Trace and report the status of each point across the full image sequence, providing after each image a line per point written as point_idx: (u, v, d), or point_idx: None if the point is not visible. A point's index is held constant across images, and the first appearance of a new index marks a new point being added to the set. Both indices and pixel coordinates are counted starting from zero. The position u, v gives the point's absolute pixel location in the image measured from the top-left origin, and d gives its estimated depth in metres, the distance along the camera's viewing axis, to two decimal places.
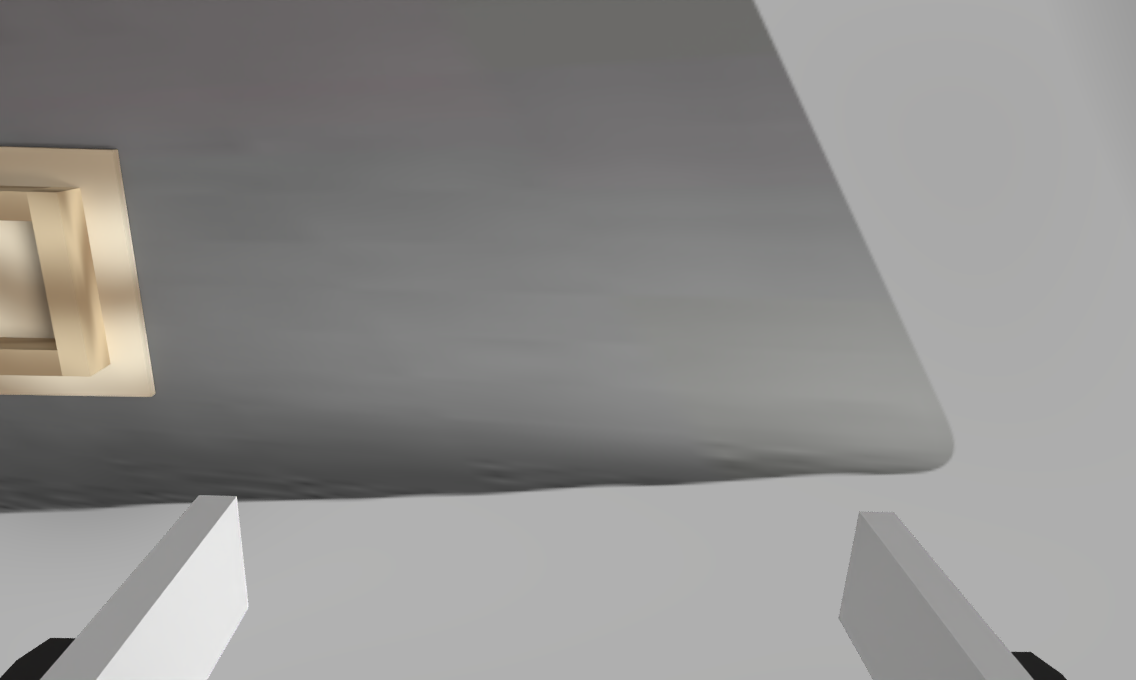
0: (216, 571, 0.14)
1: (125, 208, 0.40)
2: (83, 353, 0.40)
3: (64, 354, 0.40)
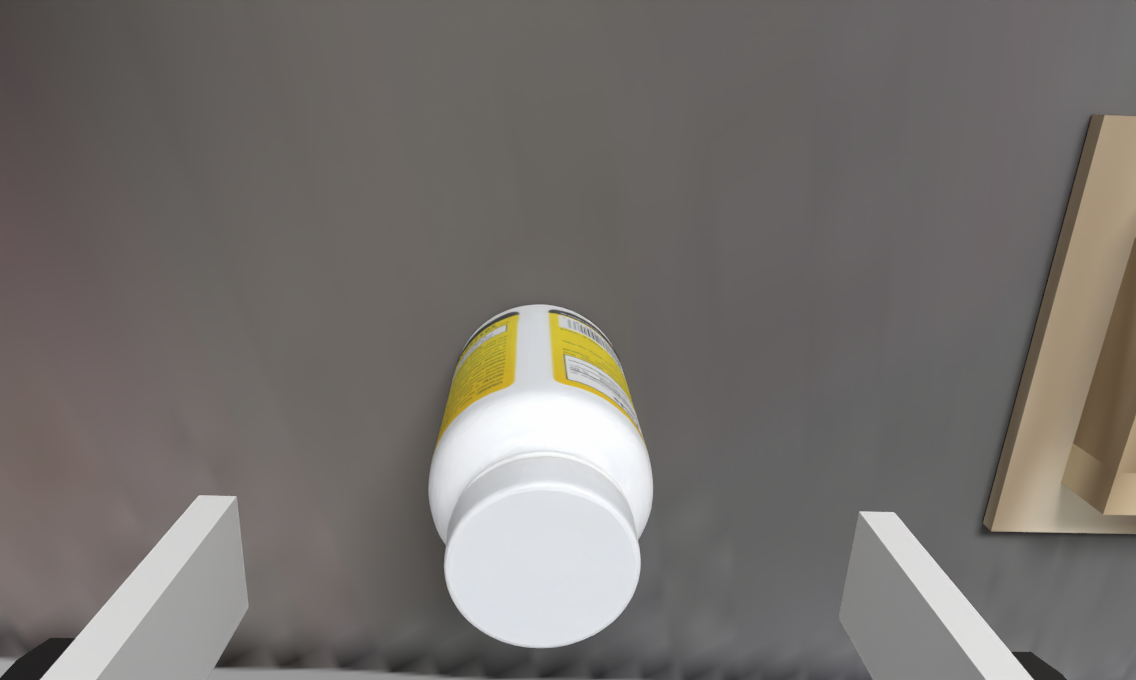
0: (216, 571, 0.14)
1: None
2: None
3: None
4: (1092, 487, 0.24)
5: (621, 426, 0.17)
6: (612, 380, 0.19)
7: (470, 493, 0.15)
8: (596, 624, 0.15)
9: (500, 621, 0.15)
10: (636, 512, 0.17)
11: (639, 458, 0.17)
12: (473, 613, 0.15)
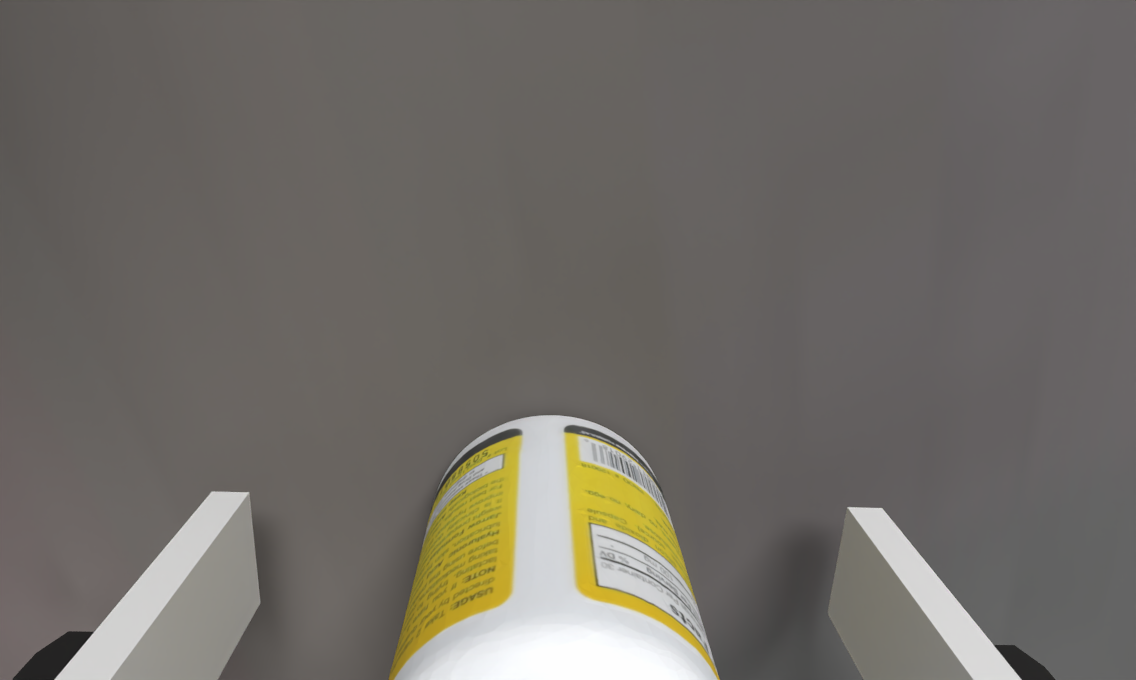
0: (229, 566, 0.14)
1: None
2: None
3: None
4: None
5: (687, 676, 0.10)
6: (663, 561, 0.12)
7: None
8: None
9: None
10: None
11: None
12: None
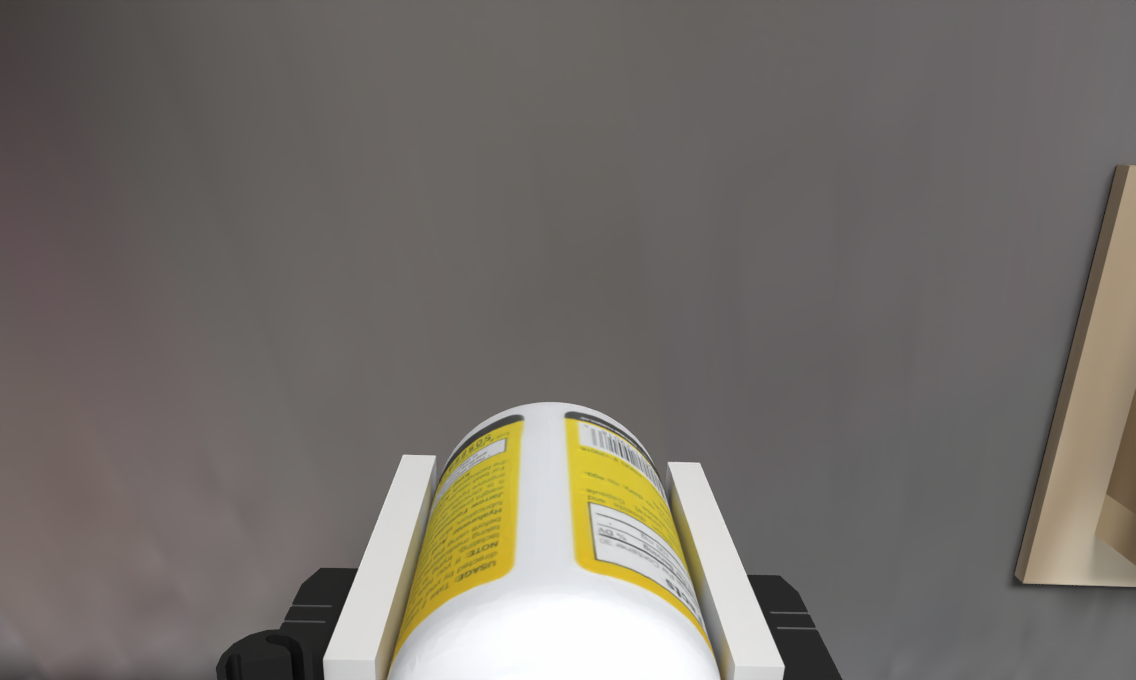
0: (428, 519, 0.16)
1: None
2: None
3: None
4: (1127, 540, 0.23)
5: (682, 645, 0.11)
6: (659, 539, 0.13)
7: None
8: None
9: None
10: None
11: None
12: None
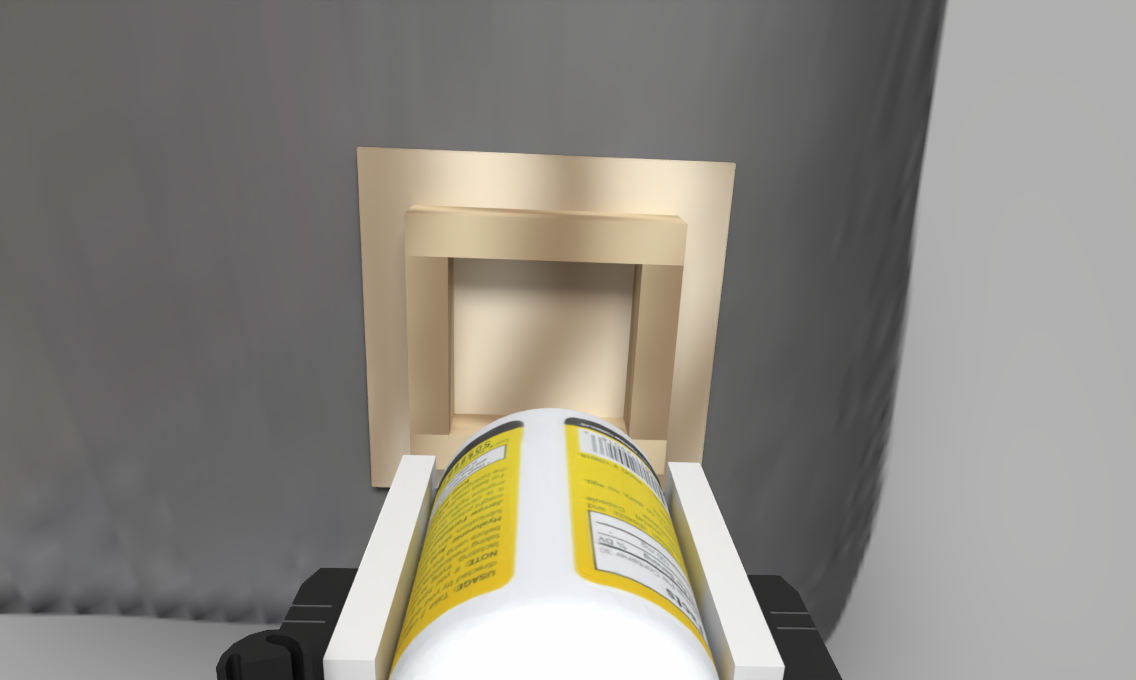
0: (428, 519, 0.16)
1: (443, 150, 0.28)
2: (650, 226, 0.26)
3: (650, 254, 0.27)
4: None
5: (682, 656, 0.11)
6: (660, 548, 0.13)
7: None
8: None
9: None
10: None
11: None
12: None
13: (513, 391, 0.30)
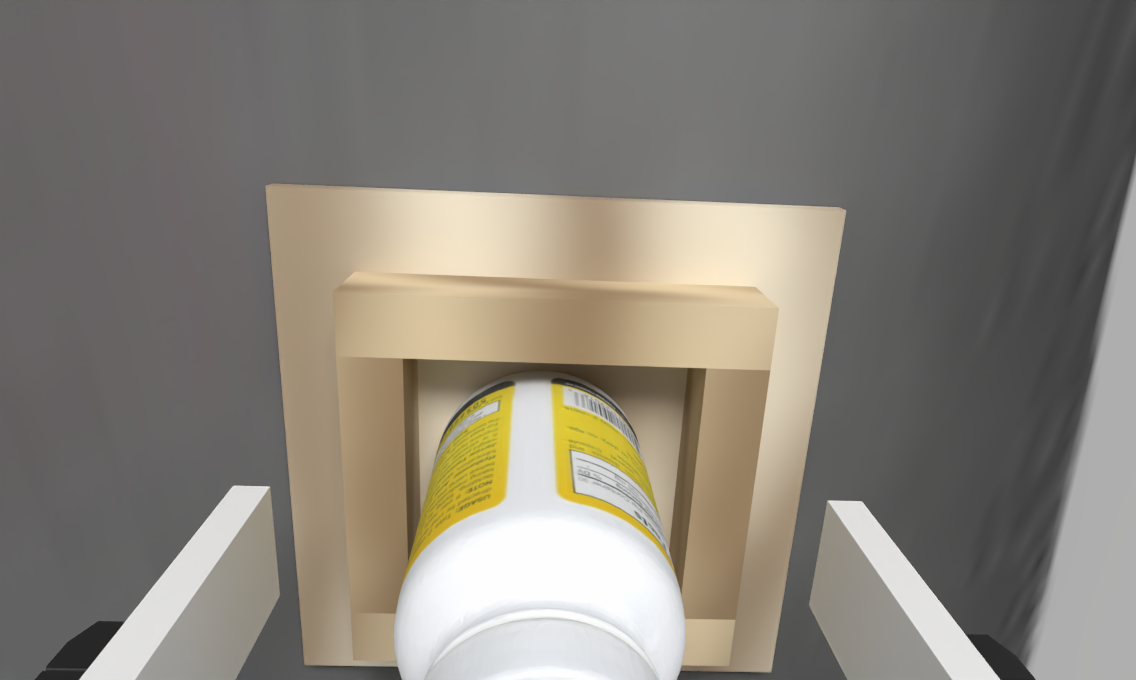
0: (252, 559, 0.15)
1: (400, 190, 0.18)
2: (719, 312, 0.17)
3: (719, 354, 0.17)
4: None
5: (646, 559, 0.13)
6: (631, 481, 0.15)
7: (442, 672, 0.11)
8: None
9: None
10: (665, 670, 0.13)
11: (670, 601, 0.13)
12: None
13: None
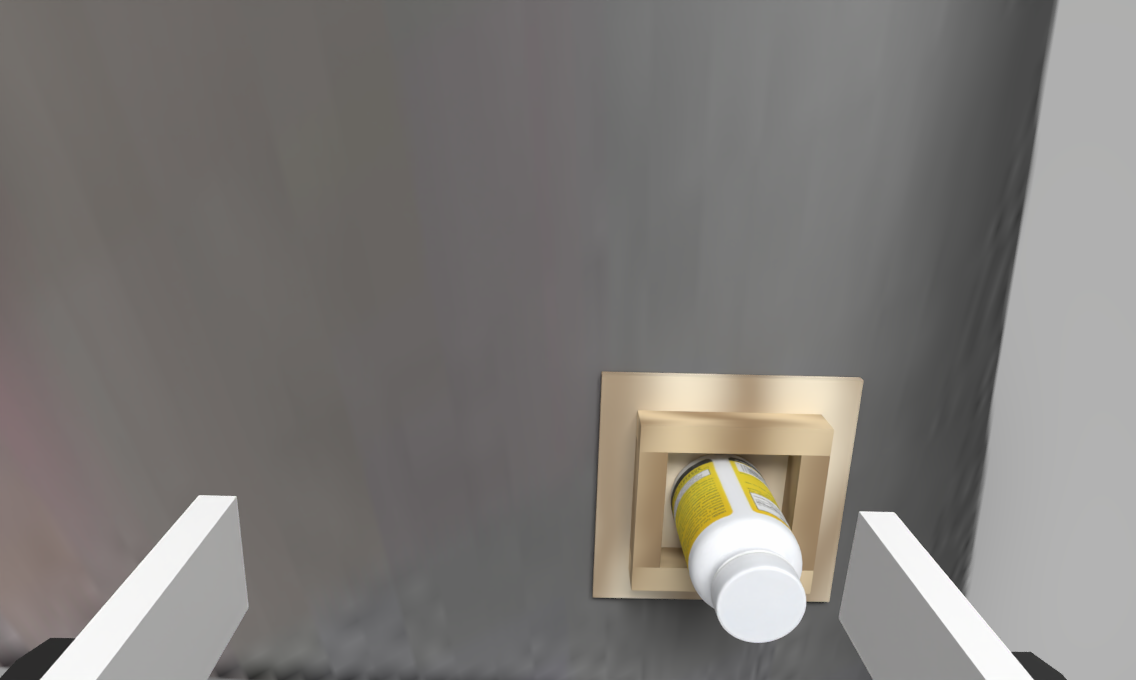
0: (216, 571, 0.14)
1: (659, 373, 0.40)
2: (808, 431, 0.38)
3: (807, 449, 0.39)
4: (630, 574, 0.42)
5: (788, 534, 0.34)
6: (774, 505, 0.37)
7: (726, 570, 0.33)
8: (784, 631, 0.33)
9: (740, 629, 0.33)
10: None
11: (797, 550, 0.34)
12: (728, 626, 0.33)
13: None
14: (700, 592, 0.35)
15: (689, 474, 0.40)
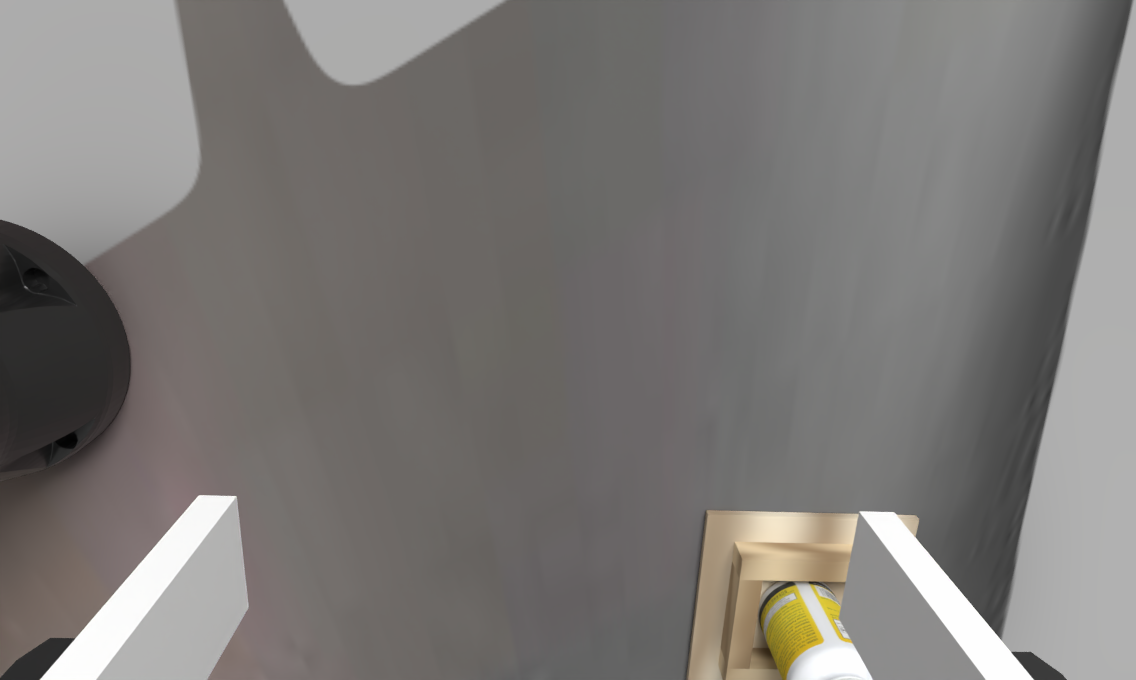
0: (216, 571, 0.14)
1: (753, 512, 0.48)
2: None
3: None
4: (723, 672, 0.50)
5: None
6: None
7: None
8: None
9: None
10: None
11: None
12: None
13: None
14: None
15: (777, 595, 0.48)
